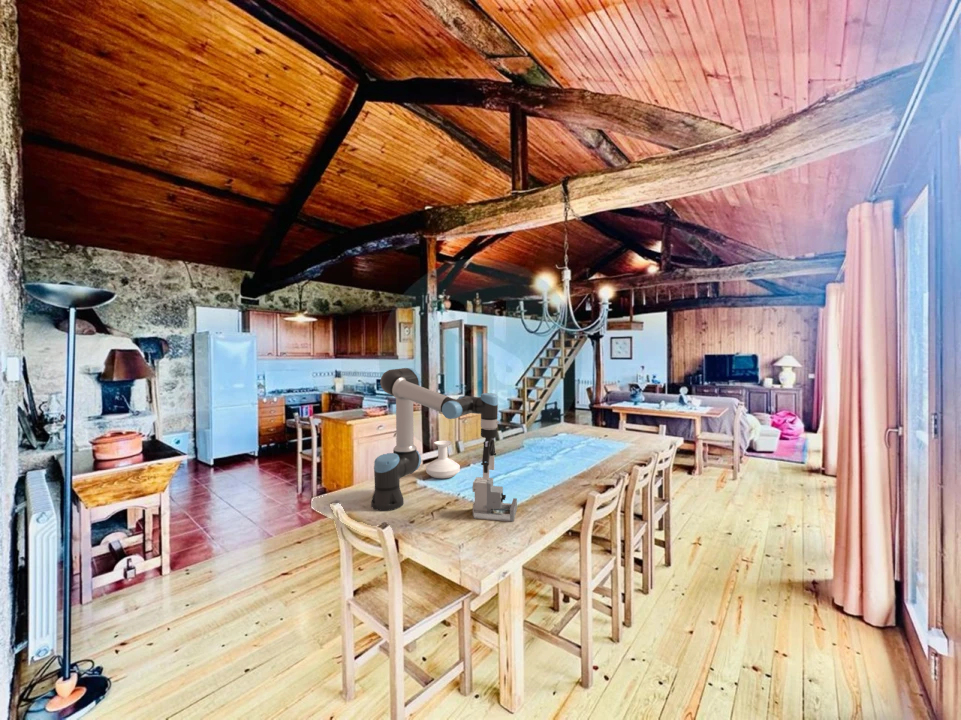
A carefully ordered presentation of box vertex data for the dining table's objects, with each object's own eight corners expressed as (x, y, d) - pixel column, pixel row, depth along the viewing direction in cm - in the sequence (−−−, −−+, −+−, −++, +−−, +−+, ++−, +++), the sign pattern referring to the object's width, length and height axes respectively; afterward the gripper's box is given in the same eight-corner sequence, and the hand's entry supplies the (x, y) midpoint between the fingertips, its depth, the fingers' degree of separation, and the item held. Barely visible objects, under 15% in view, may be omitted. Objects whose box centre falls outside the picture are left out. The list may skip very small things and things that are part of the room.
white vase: (447, 467, 252) (446, 436, 251) (467, 475, 236) (466, 442, 235) (419, 474, 239) (418, 442, 238) (438, 483, 224) (437, 449, 223)
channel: (473, 518, 179) (473, 507, 179) (479, 506, 192) (479, 496, 192) (513, 521, 176) (513, 510, 176) (516, 509, 189) (516, 498, 188)
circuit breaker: (504, 517, 179) (504, 484, 179) (472, 515, 182) (472, 482, 182) (506, 510, 187) (506, 478, 186) (476, 508, 190) (475, 477, 189)
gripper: (492, 434, 170) (492, 484, 171) (501, 422, 194) (501, 466, 195) (475, 433, 171) (474, 483, 172) (486, 421, 196) (485, 465, 197)
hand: (488, 474), depth 184 cm, fingers open, 13 cm apart
